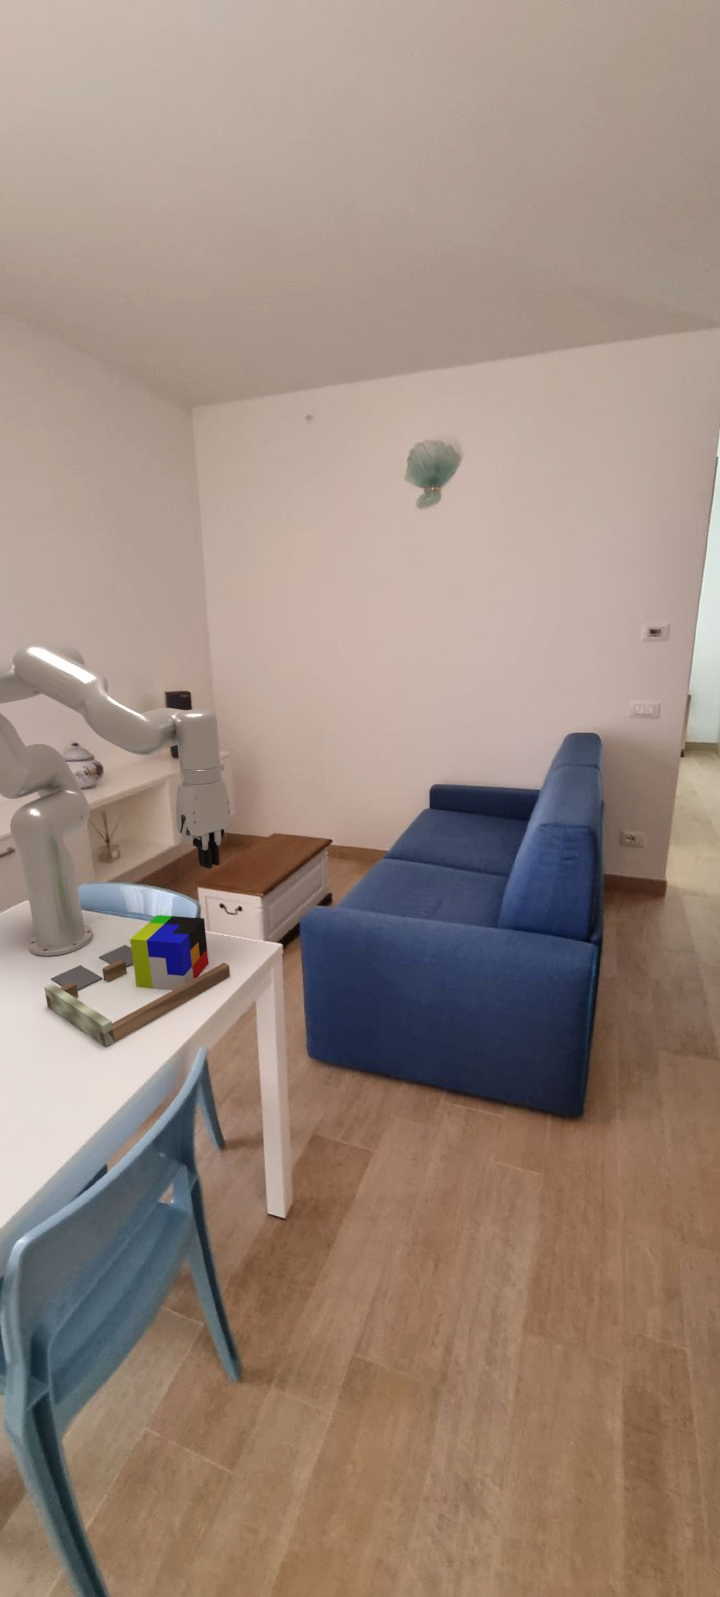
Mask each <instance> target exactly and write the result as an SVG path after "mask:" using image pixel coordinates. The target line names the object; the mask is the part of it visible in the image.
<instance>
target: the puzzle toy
mask: <svg viewBox="0 0 720 1597" xmlns="http://www.w3.org/2000/svg"><path fill="white" fill-rule="evenodd" d="M205 924H206V923H205V918H202V917H192V916H191V917H189V916H176V915H162V914H157V915H155V916H154V917H153V918H152V919H150V921H149V922H147V923H146V924H145V925H144V926H143V927H142V928H141V929H139V930H138V931H137V932H136V933H135V934H134V935H133V936H132V937H130V939H129V942H130V948H131V950H132V957H133V965H132V966H133V971H134V977H135V979H134V980H135V986H136V988H143V989H157V990H165V991H173V990H174V989H176V988H178V987H180V986H182V985H184V984H185V983H187V982H189V981H191V980H193V979H195V978H196V977H198V976H200V975H202V974H203V971H204V970H205V969H206V968H207V966H209V957H208V956H209V953H208V952H209V951H208V944H207V934H206V926H205Z"/></svg>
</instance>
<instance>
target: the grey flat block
mask: <svg viewBox="0 0 720 1597" xmlns="http://www.w3.org/2000/svg"><path fill="white" fill-rule="evenodd" d="M50 979H51V981H53V982H54V983H56V984H58V985H59V986H61V987H63V986H65V985H67V984H69V983H72V982H73V983H75V984H76V985H77V990H78V991H81V990H83V989H85V988H87V987H89V986H91V985H93V984H95V983H98V982H99V981H101V980H104V977H102V976H101V975H98V974H96V973H95V972H94V971H92V970H90V969H88V968H87V967H85V966H83V965H81V964H79V965H78V966H75V967H73V968H71V969H68V970H67V971H64V972H62V973H59V974H58V975H55V976H53V977H50Z"/></svg>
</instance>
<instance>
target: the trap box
mask: <svg viewBox="0 0 720 1597" xmlns="http://www.w3.org/2000/svg"><path fill="white" fill-rule="evenodd" d="M101 969H102V975H103V980H104V981H105V982H107V983H110V982H112V981H114V980H116V979H118V978H120V977H122V976H124V975H126V974H127V973H128V970H127V968H126V962H125V961H123V960H119V961H117V962H114V963H112V964H108V965H106V966H104V967H102V968H101ZM230 977H231V972H230V964H228V963H227V962H226V963H225V962H223V963H220V964H219V965H216V966H214V967H213V968H211V969H210V970H208V971H205V972H204V973H201V974H200V975H199V976H198V977H196V978H195V979H193V980H191V981H189V982H187V983H185V984H184V985H182V986H180V987H178V988H176V989H174V990H170V991H169V992H167V993H165V994H164V995H162V996H160V997H157V998H156V999H155V1000H152V1001H150V1002H149V1003H147V1004H145V1005H143V1006H142V1007H140V1008H137V1009H136V1010H134V1011H132V1012H130V1013H128V1014H127V1015H125V1016H122V1017H121V1018H119V1019H117V1020H116V1021H113V1022H112V1020H111V1019H108V1017H106V1016H104V1015H103V1014H101V1013H99V1012H98V1011H97V1010H95V1009H94V1008H92V1007H90V1006H89V1005H87V1004H86V1003H84V1002H82V1001H80V1000H79V999H78V998H79V992H78V990H77V985H76V984H75V983H73V982H72V983H69V984H67V985H65V986H63V987H62V986H61V987H59V986H57V985H56V984H54V983H50V984H48V985H46V986H43V989H44V992H45V998H46V999H45V1000H46V1005H47V1006H46V1007H47V1008H49V1009H50V1010H52V1011H53V1012H55V1013H56V1014H58V1015H59V1016H60V1017H62V1018H63V1019H65V1020H67V1021H68V1022H69V1023H70V1024H72V1025H73V1026H75V1027H76V1028H77V1029H79V1030H81V1031H82V1032H84V1033H85V1034H86V1035H88V1036H89V1037H91V1038H92V1039H93V1040H95V1041H96V1042H98V1044H99V1043H100V1044H101V1045H103V1047H105V1048H107V1047H110V1046H111V1045H113V1044H114V1043H116V1042H118V1041H119V1040H122V1039H123V1038H125V1037H126V1036H128V1035H130V1034H132V1033H134V1032H136V1031H137V1030H140V1029H141V1028H143V1027H144V1026H146V1025H148V1024H150V1023H151V1022H153V1021H155V1020H156V1019H158V1018H160V1017H162V1016H164V1015H165V1014H167V1013H169V1012H171V1011H173V1010H174V1009H176V1008H178V1007H179V1006H181V1005H183V1004H186V1003H187V1002H188V1001H190V1000H192V999H193V998H195V997H197V996H198V995H201V994H202V993H204V992H206V991H207V990H209V989H211V988H213V987H215V986H216V985H218V984H220V983H221V982H223V981H225V980H227V979H229V978H230Z"/></svg>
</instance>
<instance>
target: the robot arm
mask: <svg viewBox="0 0 720 1597" xmlns="http://www.w3.org/2000/svg"><path fill="white" fill-rule="evenodd" d="M108 691H109V681H108V679H107V677H106V676H105V675H103V674H102V673H101V672H99V671H96V670H94V669H92V668H91V667H88V666H86V665H85V660H84V657H83V655H82V654H81V652H80V651H79V650H78V649H77V648H76V647H75V646H73V645H71V644H69V643H66V642H62V641H50V642H49V641H48V642H35V643H30V644H27V645H24V646H22V647H20V649H18V650H17V651H16V652H15V654H14V656H13V657H11V658H4V659H3V658H1V659H0V705H1V704H7V703H13V702H17V701H22V700H28V699H30V698H34V697H37V696H40V695H44V696H46V697H48V698H49V699H52V700H53V701H56V702H58V704H59V703H60V704H62V705H64V706H65V707H67V708H69V709H71V710H72V711H75V712H76V713H78V714H79V715H81V716H82V718H83V720H84V722H85V723H86V724H87V725H88V726H89V727H90V729H92V731H93V732H94V733H95V734H96V735H98V736H99V737H101V738H102V739H104V740H105V741H107V742H109V743H111V744H112V745H115V746H116V747H119V748H120V749H122V750H124V751H127V752H128V753H132V754H134V755H138V756H150V755H153V754H156V753H159V752H160V751H163V750H165V749H166V750H167V749H168V748H171V747H175V746H177V753H178V761H179V770H180V780H181V781H180V782H181V783H180V784H177V790H176V800H175V802H176V804H175V805H176V806H175V812H176V827H177V828H176V830H177V832H178V833H179V835H181V837H180V843H181V844H185V845H193V846H194V848H196V849H197V854H198V855H197V856H198V857H197V858H198V863H199V866H200V867H203V868H205V869H213V865H214V866H220V864H221V862H220V848H219V847H220V845H221V844H222V838H223V837H224V835H225V834H226V833H227V832H228V831H229V830H231V829H232V825H231V824H232V823H231V821H232V814H231V813H232V812H231V804H230V803H231V802H230V798H229V794H228V790H227V789H228V788H227V786H226V785H227V784H226V783H225V779H224V778H222V772H223V771H224V770H225V766H224V764H221V756H220V746H219V745H220V744H219V742H220V741H219V730H218V723H217V722H218V721H217V716H216V713H215V712H213V711H212V710H209V709H205V708H203V709H200V708H199V709H197V708H195V709H188V710H186V709H178V708H172V707H159V708H154V709H151V710H147V711H144V712H141V713H139V712H137V711H135V710H133V709H131V708H130V707H127V706H126V705H123V704H122V703H120V702H118V701H116V699H113V698H112V697H111V696H110V695H109V694H108ZM35 793H37V794H38V796H39V797H38V798H36V799H34V800H32V801H29V802H27V803H25V804H24V805H22V806H20V807H18V809H17V810H16V811H15V812H14V813H13V815H12V818H11V819H10V824H9V826H10V827H9V828H10V833H11V837H12V839H13V841H14V843H15V846H16V849H17V851H18V854H19V857H20V860H21V866H22V869H23V870H22V871H23V875H24V880H25V886H26V891H27V896H28V902H29V908H30V912H31V913H30V914H31V919H32V925H33V930H34V936H32V937H31V938H30V939H29V941H28V949H29V952H30V953H32V954H34V955H37V956H42V957H43V956H44V957H50V956H51V957H52V956H53V957H54V956H59V955H60V956H61V955H63V954H64V955H65V954H68V953H72V952H74V951H77V950H80V949H81V948H83V947H84V946H87V944H88V943H90V942H91V941H92V939H93V937H94V931H93V928H92V927H90V926H88V925H86V924H85V923H84V917H83V913H82V912H83V910H82V906H81V905H82V904H81V899H80V892H79V886H78V878H77V872H76V868H75V863H74V862H75V861H74V859H73V856H72V854H71V852H70V850H69V849H68V847H67V846H66V844H65V842H64V839H65V838H67V837H69V836H70V835H72V834H74V833H75V832H77V831H79V830H81V829H82V828H83V827H84V826H86V825H87V823H88V822H89V819H90V812H91V811H90V810H91V808H90V805H89V802H88V800H87V797H86V796H85V793H84V792H83V790H82V788H81V786H80V785H79V782H78V781H77V778H76V777H75V775H74V773H73V771H72V769H71V768H70V766H69V764H68V763H67V760H66V759H65V757H64V756H63V755H62V753H61V752H59V750H57V749H55V747H52V746H51V745H48V744H44V743H35V744H33V743H32V744H29V745H26V744H25V743H24V742H23V740H22V738H21V737H20V735H19V733H18V731H17V729H16V727H15V726H14V725H13V723H12V722H11V721H10V720H9V719H8V718H7V717H6V716H4V715H3V714H2V713H1V712H0V796H2V797H4V798H6V799H8V800H9V799H10V800H18V799H21V798H24V797H27V796H30V795H32V794H35Z"/></svg>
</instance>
